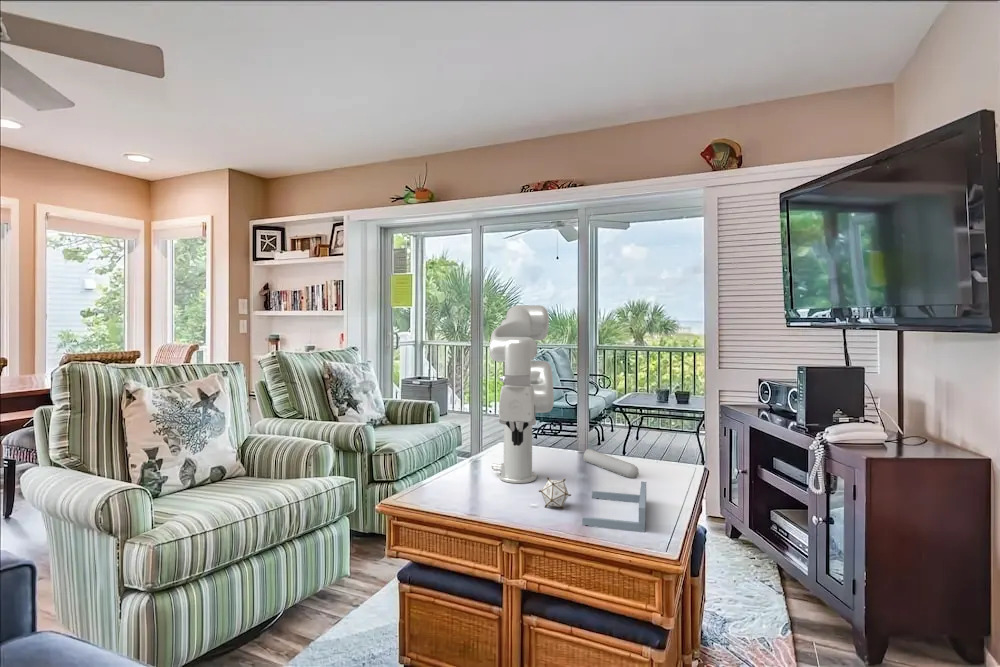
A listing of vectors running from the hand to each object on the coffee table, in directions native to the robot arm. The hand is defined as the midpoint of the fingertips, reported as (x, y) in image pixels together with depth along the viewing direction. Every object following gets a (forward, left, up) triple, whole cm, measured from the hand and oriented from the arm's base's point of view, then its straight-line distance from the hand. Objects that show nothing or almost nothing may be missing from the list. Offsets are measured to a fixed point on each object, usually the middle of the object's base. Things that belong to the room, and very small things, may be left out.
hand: (517, 444), depth 153 cm
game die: (+11, 0, -17) cm, 21 cm away
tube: (+23, +44, -18) cm, 52 cm away
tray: (+28, 0, -17) cm, 33 cm away
